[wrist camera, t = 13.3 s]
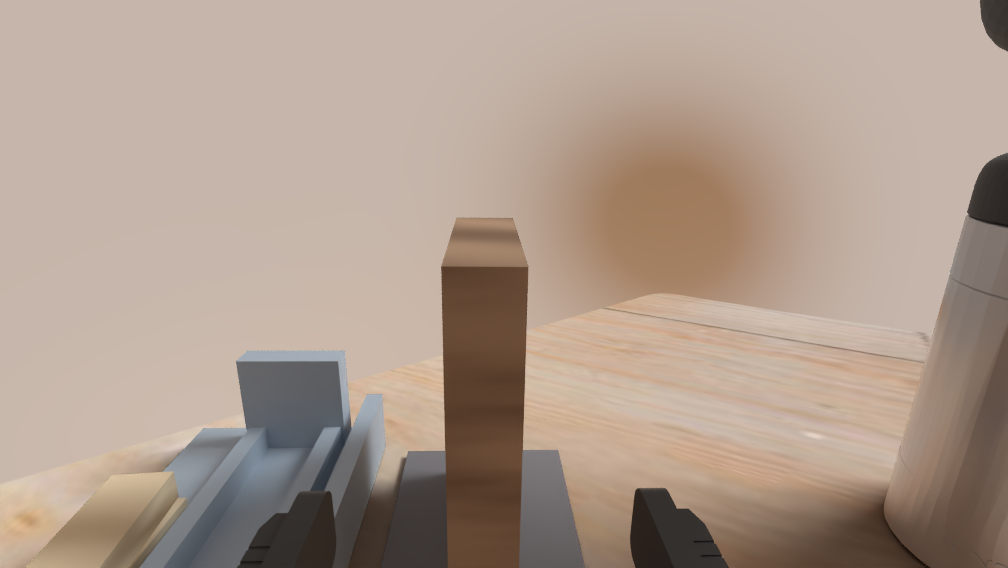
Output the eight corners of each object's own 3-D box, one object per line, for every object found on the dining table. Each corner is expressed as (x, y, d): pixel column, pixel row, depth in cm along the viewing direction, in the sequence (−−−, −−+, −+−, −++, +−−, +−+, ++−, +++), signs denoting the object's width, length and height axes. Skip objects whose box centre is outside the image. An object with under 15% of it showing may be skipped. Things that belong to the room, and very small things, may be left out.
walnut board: (459, 471, 32) (456, 217, 27) (507, 470, 32) (512, 218, 27) (449, 619, 22) (441, 266, 17) (517, 618, 22) (528, 266, 17)
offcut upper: (118, 500, 25) (112, 474, 25) (178, 496, 25) (173, 471, 25) (24, 610, 19) (14, 579, 19) (104, 602, 20) (95, 572, 19)
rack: (206, 447, 34) (188, 345, 32) (385, 446, 35) (379, 345, 32) (-237, 957, 13) (-380, 762, 11) (232, 935, 14) (186, 744, 11)
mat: (408, 456, 34) (408, 451, 33) (557, 455, 34) (558, 450, 34) (357, 673, 20) (357, 665, 20) (604, 666, 21) (605, 659, 20)
